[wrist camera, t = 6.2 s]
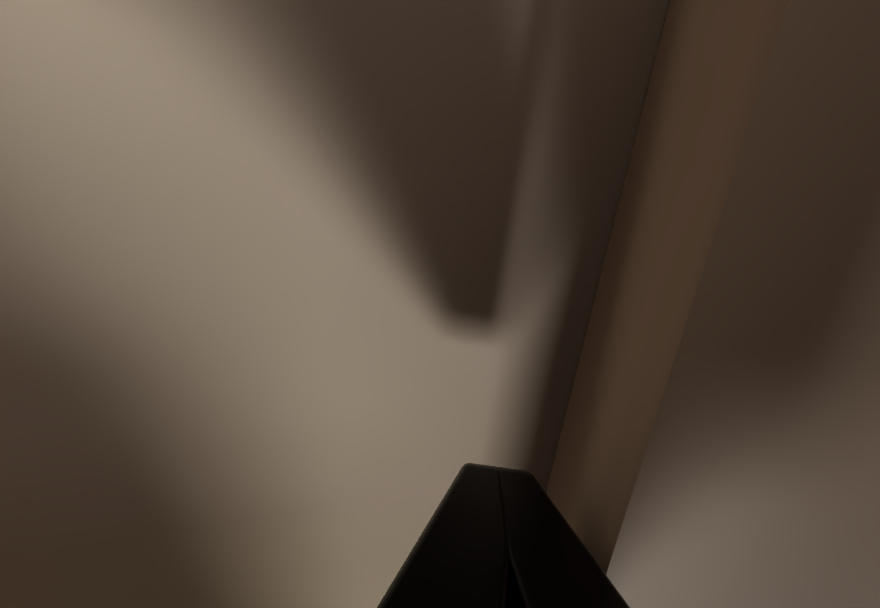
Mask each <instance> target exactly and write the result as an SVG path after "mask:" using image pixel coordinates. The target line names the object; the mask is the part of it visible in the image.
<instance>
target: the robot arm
mask: <svg viewBox="0 0 880 608" xmlns="http://www.w3.org/2000/svg"><path fill="white" fill-rule="evenodd" d="M377 608H630V607H629V605H628V604H627V603H626V601H625V600H624V599H623V597H622V596H621V594H620V593H619V592H618V590H617V589H616V588H615V586H614V585H613V584H612V582H611V581H610V580H609V578H608V577H607V575H606V574H605V573H604V571H603V570H602V569H601V567H600V566H599V565H598V563H597V562H596V560H595V559H594V558H593V556H592V555H591V554H590V552H589V551H588V550H587V548H586V547H585V546H584V544H583V543H582V541H581V540H580V539H579V537H578V536H577V535H576V533H575V532H574V531H573V529H572V528H571V526H570V525H569V524H568V522H567V521H566V520H565V518H564V517H563V516H562V514H561V513H560V512H559V510H558V509H557V507H556V506H555V505H554V503H553V502H552V501H551V499H550V498H549V497H548V495H547V494H546V493H545V491H544V490H543V488H542V487H541V486H540V484H539V483H538V482H537V480H536V479H535V478H534V476H533V475H532V474H531V473H529V472H528V471H524V470H517V469H509V468H502V467H495V466H488V465H481V464H473V463H467V464H465V465H464V466H463V467H462V468H461V470H460V471H459V473H458V475H457V476H456V478H455V480H454V481H453V483H452V485H451V486H450V488H449V489H448V491H447V493H446V494H445V496H444V498H443V499H442V501H441V503H440V504H439V506H438V508H437V509H436V511H435V513H434V514H433V516H432V518H431V519H430V521H429V523H428V524H427V526H426V527H425V529H424V531H423V532H422V534H421V536H420V537H419V539H418V541H417V542H416V544H415V546H414V547H413V549H412V551H411V552H410V554H409V556H408V557H407V559H406V561H405V562H404V564H403V565H402V567H401V569H400V570H399V572H398V574H397V575H396V577H395V579H394V580H393V582H392V584H391V585H390V587H389V589H388V590H387V592H386V594H385V595H384V597H383V599H382V600H381V602H380V603H379V605H378V607H377Z"/></svg>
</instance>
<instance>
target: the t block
mask: <svg viewBox="0 0 880 608" xmlns="http://www.w3.org/2000/svg"><path fill="white" fill-rule="evenodd" d="M546 494H547V495H548V497H549V498H550V499H551V501H552V502H553V503H554V505H555V506H556V507H557V509H558V510H559V512H560V513H561V514H562V516H563V517H564V518H565V520H566V521H567V522H568V524H569V525H570V526H571V528H572V529H573V531H574V532H575V533H576V535H577V536H578V537H579V539H580V540H581V541H582V543H583V544H584V546H585V547H586V548H587V550H588V551H589V552H590V554H591V555H592V556H593V558H594V559H595V560H596V562H597V563H598V565H599V566H600V567H601V569H602V570H603V571H604V573H605V574H606V575H607V577H608V578H609V580H610V581H611V582H612V584H613V585H614V586H615V588H616V589H617V590H618V592H619V593H620V594H621V596H622V597H623V599H624V600H625V601H626V603H627V604H628V605H629V607H630V608H880V0H670V2H669V6H668V10H667V14H666V18H665V22H664V26H663V30H662V34H661V38H660V42H659V46H658V50H657V53H656V57H655V61H654V65H653V69H652V73H651V77H650V81H649V85H648V89H647V93H646V97H645V101H644V105H643V109H642V113H641V117H640V121H639V125H638V129H637V133H636V137H635V141H634V145H633V149H632V153H631V156H630V160H629V164H628V168H627V172H626V176H625V180H624V184H623V188H622V192H621V196H620V200H619V204H618V208H617V212H616V216H615V220H614V224H613V228H612V232H611V236H610V240H609V244H608V248H607V252H606V256H605V259H604V263H603V267H602V271H601V275H600V279H599V283H598V287H597V291H596V295H595V299H594V303H593V307H592V311H591V315H590V319H589V323H588V327H587V331H586V335H585V339H584V343H583V347H582V351H581V355H580V359H579V362H578V366H577V370H576V374H575V378H574V382H573V386H572V390H571V394H570V398H569V402H568V406H567V410H566V414H565V418H564V422H563V426H562V430H561V434H560V438H559V442H558V446H557V450H556V454H555V458H554V462H553V465H552V469H551V473H550V477H549V481H548V485H547V489H546Z"/></svg>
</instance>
